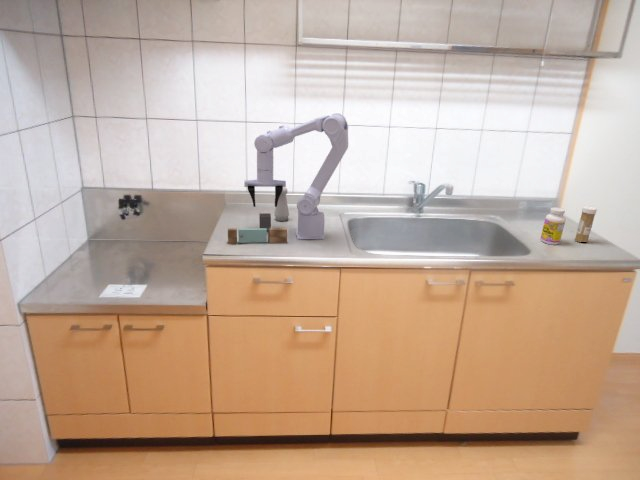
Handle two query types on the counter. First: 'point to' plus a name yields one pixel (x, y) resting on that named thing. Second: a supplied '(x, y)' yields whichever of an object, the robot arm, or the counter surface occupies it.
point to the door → (252, 235)
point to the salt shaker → (282, 207)
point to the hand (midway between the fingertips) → (265, 206)
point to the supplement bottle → (553, 226)
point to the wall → (273, 235)
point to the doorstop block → (265, 220)
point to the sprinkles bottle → (585, 223)
